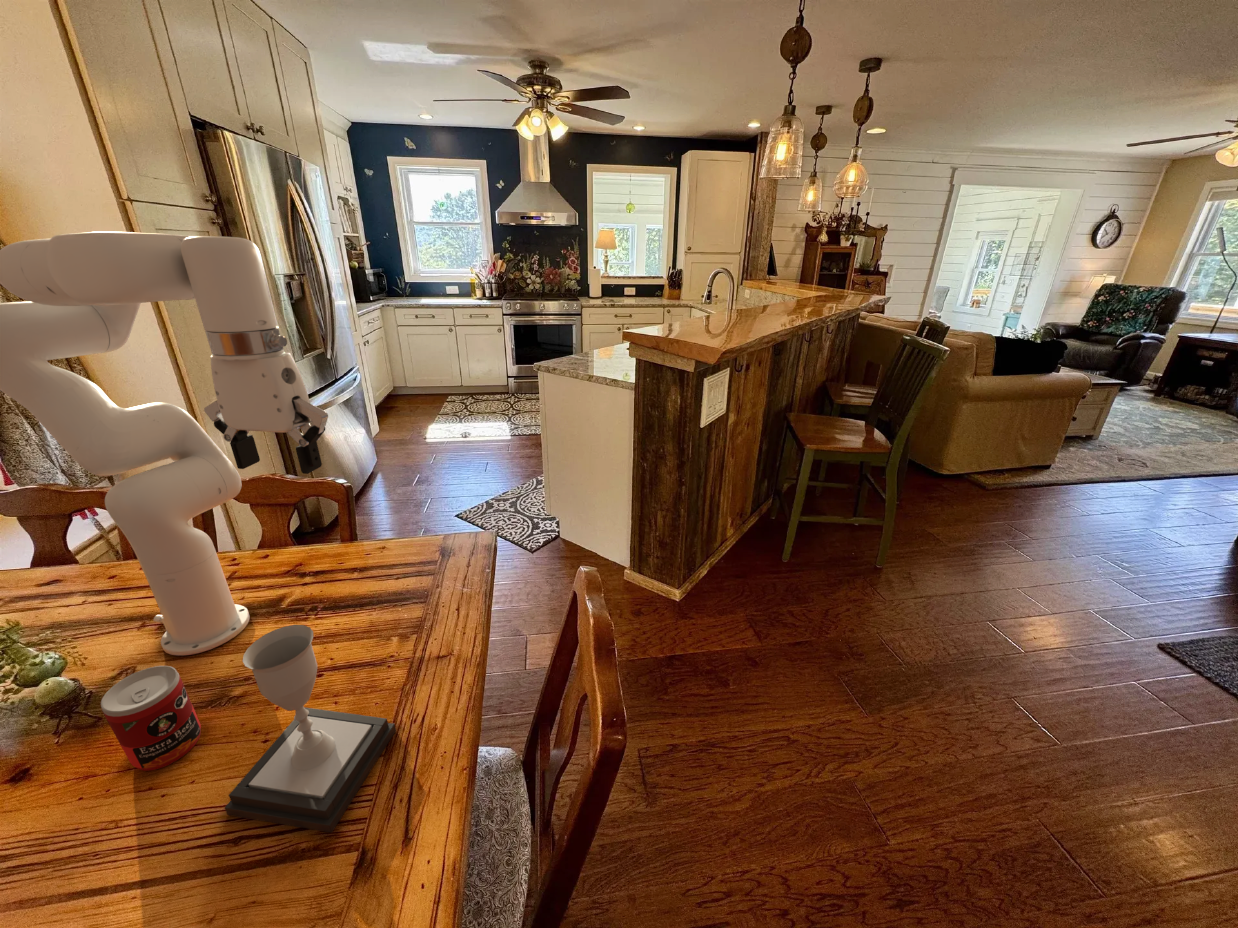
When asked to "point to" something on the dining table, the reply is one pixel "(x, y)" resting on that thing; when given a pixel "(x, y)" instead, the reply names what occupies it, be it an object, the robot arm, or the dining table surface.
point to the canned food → (152, 717)
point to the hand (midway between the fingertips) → (280, 467)
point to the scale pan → (320, 778)
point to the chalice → (291, 686)
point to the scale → (303, 808)
